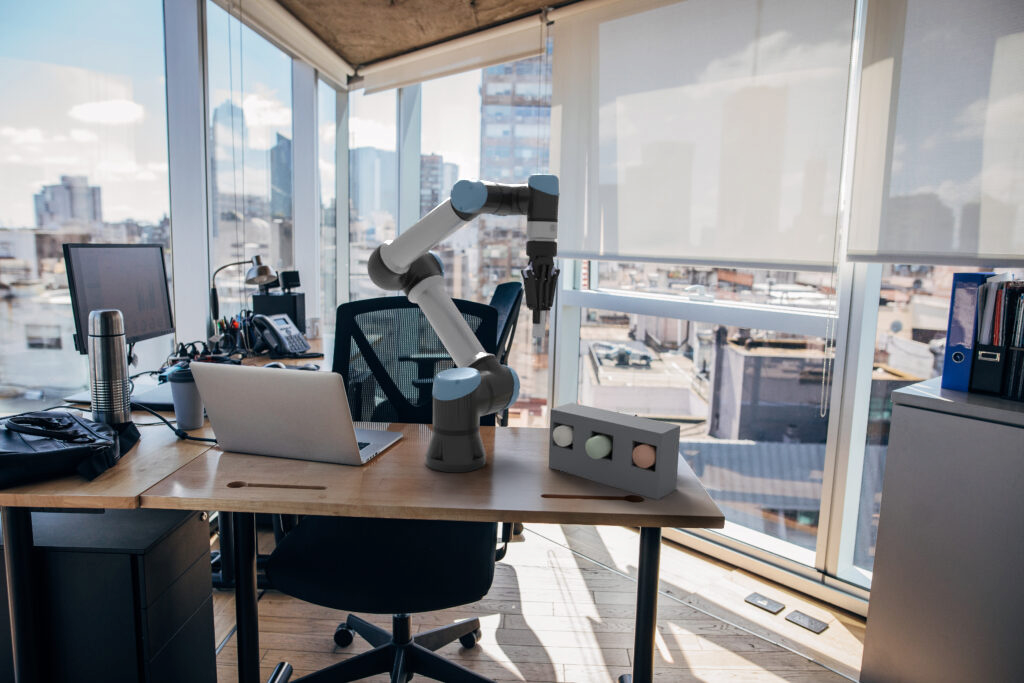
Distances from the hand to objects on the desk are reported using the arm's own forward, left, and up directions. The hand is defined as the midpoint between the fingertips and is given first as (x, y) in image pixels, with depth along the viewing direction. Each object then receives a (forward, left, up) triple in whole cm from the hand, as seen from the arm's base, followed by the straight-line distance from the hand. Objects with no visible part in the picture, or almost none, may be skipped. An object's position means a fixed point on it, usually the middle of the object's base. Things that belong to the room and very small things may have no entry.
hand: (538, 336), depth 161 cm
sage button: (+11, -16, -26) cm, 33 cm away
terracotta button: (+20, -23, -26) cm, 40 cm away
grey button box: (+16, -13, -32) cm, 38 cm away
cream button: (+6, -6, -26) cm, 27 cm away
